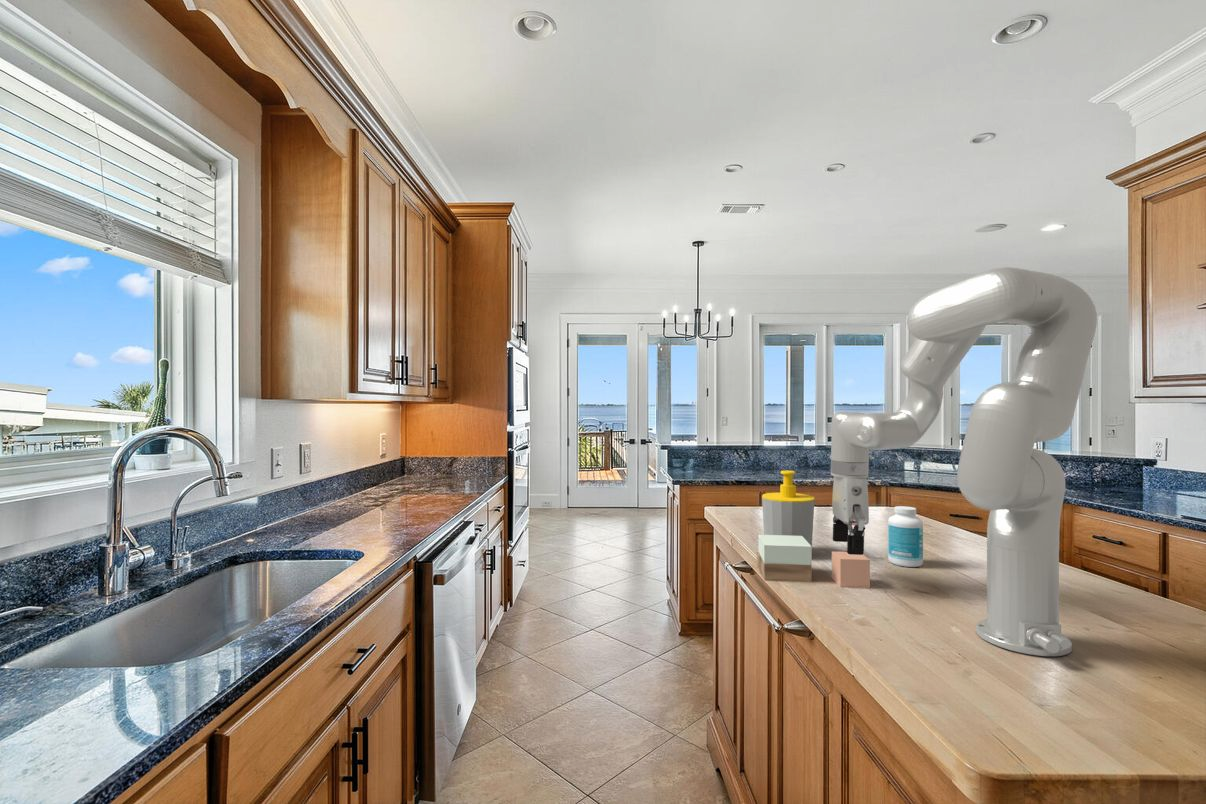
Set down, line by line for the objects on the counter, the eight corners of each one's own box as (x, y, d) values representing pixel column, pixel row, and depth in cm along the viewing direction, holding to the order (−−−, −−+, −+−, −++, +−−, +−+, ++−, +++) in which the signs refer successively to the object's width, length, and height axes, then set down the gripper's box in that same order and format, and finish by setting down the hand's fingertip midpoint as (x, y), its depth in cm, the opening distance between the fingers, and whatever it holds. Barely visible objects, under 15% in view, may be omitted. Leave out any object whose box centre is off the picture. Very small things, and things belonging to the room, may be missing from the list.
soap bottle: (819, 551, 148) (819, 470, 148) (808, 563, 137) (808, 475, 137) (769, 544, 155) (769, 467, 155) (755, 555, 144) (755, 472, 144)
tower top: (811, 565, 123) (811, 546, 123) (764, 563, 125) (764, 545, 125) (802, 552, 133) (802, 535, 133) (758, 551, 135) (758, 534, 135)
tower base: (811, 583, 123) (811, 565, 123) (764, 582, 124) (764, 563, 124) (800, 569, 133) (800, 552, 133) (756, 568, 134) (756, 551, 134)
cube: (870, 588, 119) (869, 559, 119) (840, 587, 120) (840, 559, 120) (859, 579, 125) (859, 552, 125) (831, 578, 126) (831, 551, 126)
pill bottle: (927, 569, 132) (927, 511, 132) (893, 567, 134) (893, 510, 134) (916, 560, 140) (916, 505, 140) (884, 558, 141) (884, 504, 141)
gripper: (883, 475, 114) (881, 560, 114) (853, 464, 131) (851, 537, 131) (844, 474, 114) (842, 559, 115) (820, 463, 132) (818, 536, 132)
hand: (847, 547), depth 123 cm, fingers open, 9 cm apart
